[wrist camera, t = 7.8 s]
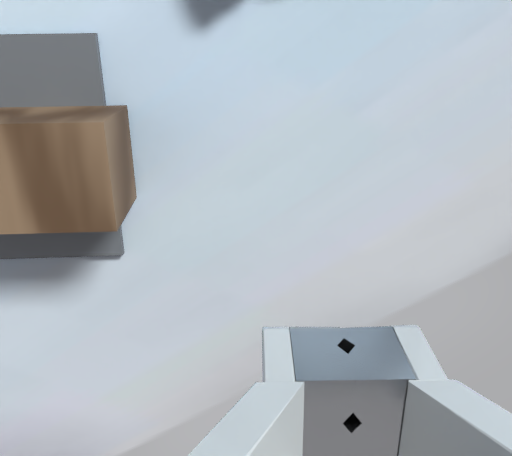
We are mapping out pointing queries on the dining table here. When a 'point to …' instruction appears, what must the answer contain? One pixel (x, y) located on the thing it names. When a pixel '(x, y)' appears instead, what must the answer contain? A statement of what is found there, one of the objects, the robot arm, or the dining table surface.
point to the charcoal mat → (53, 95)
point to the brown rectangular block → (65, 169)
